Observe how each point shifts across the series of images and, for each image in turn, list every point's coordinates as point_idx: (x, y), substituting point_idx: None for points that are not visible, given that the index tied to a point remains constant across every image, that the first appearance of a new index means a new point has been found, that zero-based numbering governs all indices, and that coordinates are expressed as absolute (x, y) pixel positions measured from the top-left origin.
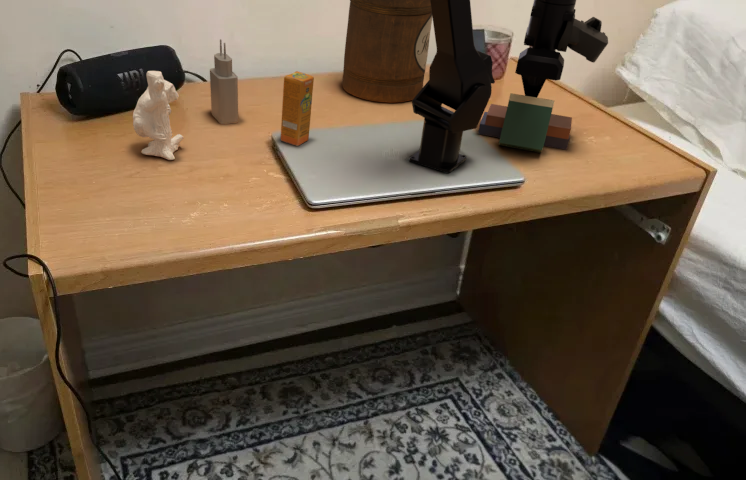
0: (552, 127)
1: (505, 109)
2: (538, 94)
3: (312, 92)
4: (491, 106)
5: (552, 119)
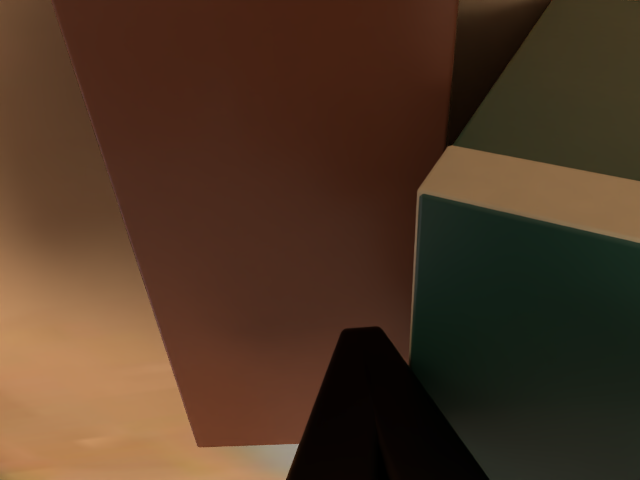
0: (452, 15)
1: (250, 381)
2: (447, 423)
3: None
4: (249, 440)
5: (252, 46)
